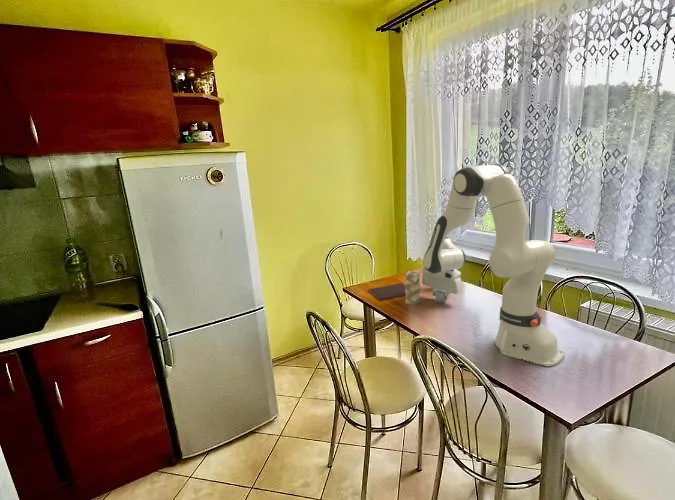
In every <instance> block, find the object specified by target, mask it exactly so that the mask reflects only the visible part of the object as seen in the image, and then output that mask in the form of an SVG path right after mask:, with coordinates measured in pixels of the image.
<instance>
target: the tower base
mask: <svg viewBox="0 0 675 500" xmlns="http://www.w3.org/2000/svg"><path fill="white" fill-rule="evenodd" d="M420 302H421V292H420V293H419V294H416V295H410V294H407V293H406V296H405V304H408V305H411V306H416V305H418V304H419V303H420Z"/></svg>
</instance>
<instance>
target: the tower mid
mask: <svg viewBox="0 0 675 500" xmlns="http://www.w3.org/2000/svg"><path fill="white" fill-rule="evenodd" d="M404 285H405V293H407V294H410V295H416V294H419V293H420V294H421V282H419V283H418V284H417V285H416V286H415V285H409V284H406V282H404Z"/></svg>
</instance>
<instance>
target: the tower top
mask: <svg viewBox="0 0 675 500" xmlns="http://www.w3.org/2000/svg"><path fill="white" fill-rule="evenodd" d="M420 277H421V273H420V272H419V271H414V270H413V271H412V270H408V272H406V273H405V283H406V284H409V285H415V286H416V285H417V284H418V283H421V282H420V280H421V279H420Z"/></svg>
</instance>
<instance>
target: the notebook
mask: <svg viewBox="0 0 675 500" xmlns="http://www.w3.org/2000/svg"><path fill="white" fill-rule="evenodd" d="M368 292H370V293H371V294H372V295H373V296H374V297H375V298H377V300H379V301H380V302H381V301H388V300H393V299H398V298H403V297H406V293H405V283H403V282H401V283H393V284H389V285H385V286H378V287H374V288H373V287H372V288H369V289H368Z"/></svg>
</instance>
